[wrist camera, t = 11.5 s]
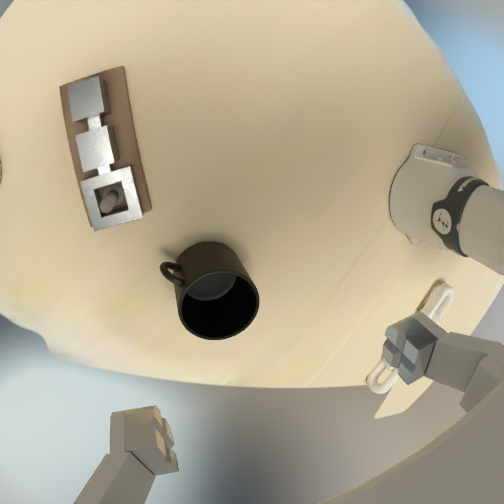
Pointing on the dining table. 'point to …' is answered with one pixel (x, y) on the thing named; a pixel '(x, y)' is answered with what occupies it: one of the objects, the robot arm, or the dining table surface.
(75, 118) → the hasp latch
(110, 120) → the brown board with peg
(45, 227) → the dining table surface
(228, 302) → the mug
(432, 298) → the chain
